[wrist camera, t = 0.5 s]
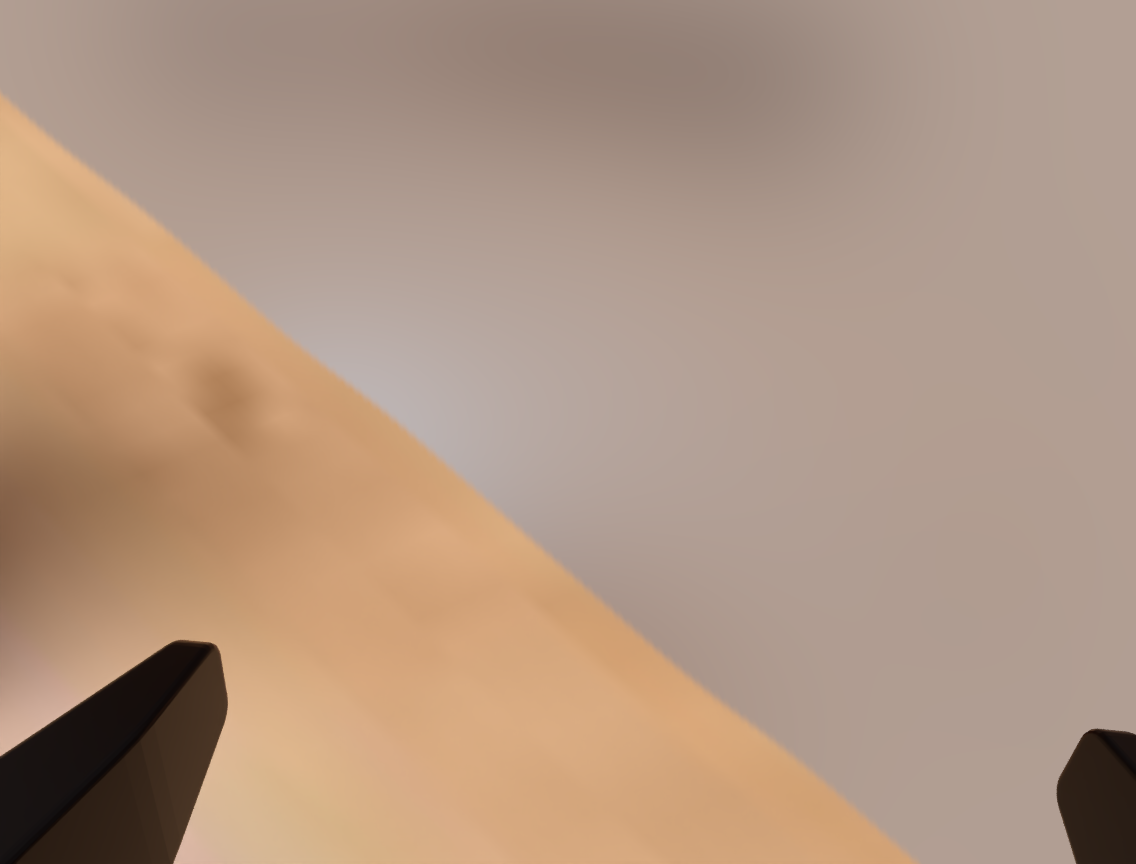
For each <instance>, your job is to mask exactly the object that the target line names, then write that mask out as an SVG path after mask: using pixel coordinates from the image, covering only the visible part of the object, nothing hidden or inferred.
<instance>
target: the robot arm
mask: <svg viewBox="0 0 1136 864" xmlns="http://www.w3.org/2000/svg"><path fill="white" fill-rule="evenodd" d="M227 708H228V698H227V691H226V685H225V679H224V673H223V667H222V661H221V655H220V652H219V649H218V648H217V646H216V645H215V644H212V643H209V642H198V641H188V640H177V641H174V642H172V643H170V644H168V645H166V646H165V647H163V648H162V649H160V650H159V651H157V652H156V653H154V654H153V655H151V656H150V657H148V658H147V659H145V660H144V661H142V662H141V663H139V664H138V665H136V666H135V667H133V668H132V669H130V670H129V671H127V672H126V673H124V674H123V675H121V676H120V677H118V678H117V679H115V680H114V681H112V682H111V683H109V684H108V685H106V686H105V687H103V688H102V689H100V690H99V691H97V692H96V693H94V694H93V695H92V696H90V697H89V698H87V699H86V700H84V701H83V702H81V703H80V704H78V705H77V706H75V707H74V708H72V709H71V710H69V711H68V712H66V713H65V714H63V715H62V716H60V717H59V718H57V719H56V720H54V721H53V722H51V723H50V724H48V725H47V726H45V727H44V728H42V729H41V730H39V731H38V732H36V733H35V734H33V735H32V736H30V737H29V738H27V739H26V740H24V741H23V742H21V743H20V744H18V745H17V746H15V747H14V748H12V749H11V750H9V751H8V752H6V753H5V754H3V755H2V756H0V864H173V863H174V860H175V857H176V855H177V852H178V850H179V847H180V845H181V842H182V839H183V836H184V834H185V831H186V828H187V825H188V823H189V820H190V817H191V814H192V811H193V809H194V806H195V803H196V800H197V798H198V795H199V792H200V789H201V787H202V784H203V781H204V778H205V776H206V773H207V770H208V767H209V764H210V762H211V759H212V756H213V753H214V751H215V748H216V745H217V742H218V740H219V737H220V734H221V731H222V729H223V726H224V723H225V719H226V715H227ZM1057 802H1058V806H1059V810H1060V813H1061V816H1062V819H1063V823H1064V826H1065V829H1066V832H1067V835H1068V838H1069V842H1070V845H1071V848H1072V851H1073V855H1074V858H1075V861H1076V864H1136V735H1135V734H1133V733H1130V732H1125V731H1115V730H1105V729H1091V730H1089V731H1088V732H1086V733H1085V734H1084V735H1083V736H1082V738H1081V740H1080V741H1079V743H1078V745H1077V747H1076V749H1075V750H1074V752H1073V754H1072V756H1071V757H1070V759H1069V761H1068V763H1067V765H1066V767H1065V768H1064V770H1063V772H1062V774H1061V776H1060V778H1059V780H1058V784H1057Z"/></svg>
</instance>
